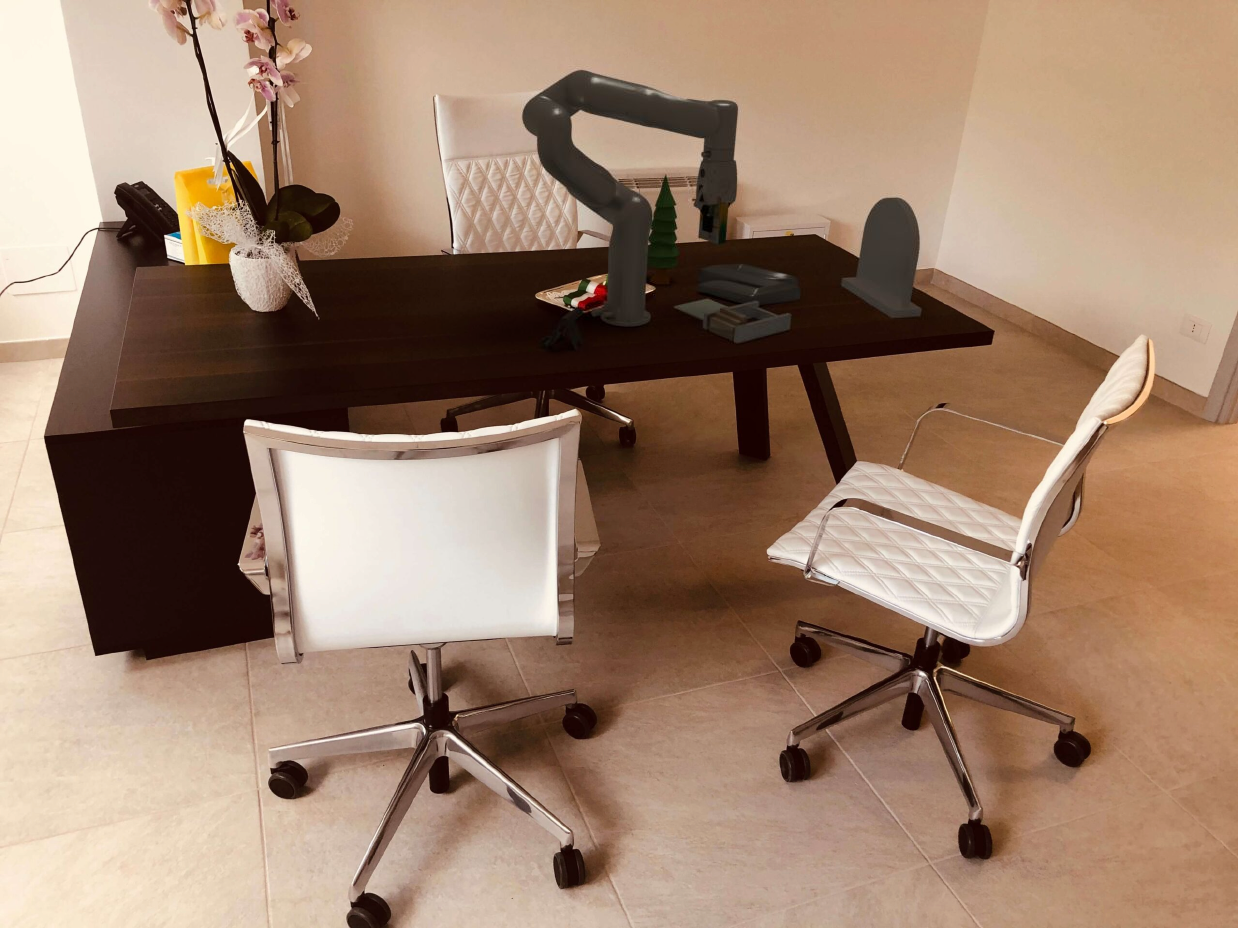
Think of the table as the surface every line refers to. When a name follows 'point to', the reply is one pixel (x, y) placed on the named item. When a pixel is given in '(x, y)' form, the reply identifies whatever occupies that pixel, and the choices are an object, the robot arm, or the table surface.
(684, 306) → the mat
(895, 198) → the gray tombstone
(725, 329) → the offcut stack
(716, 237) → the crayon box
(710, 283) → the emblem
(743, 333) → the rack
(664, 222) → the decorative tree
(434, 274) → the table surface
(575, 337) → the portable electronic device stand
